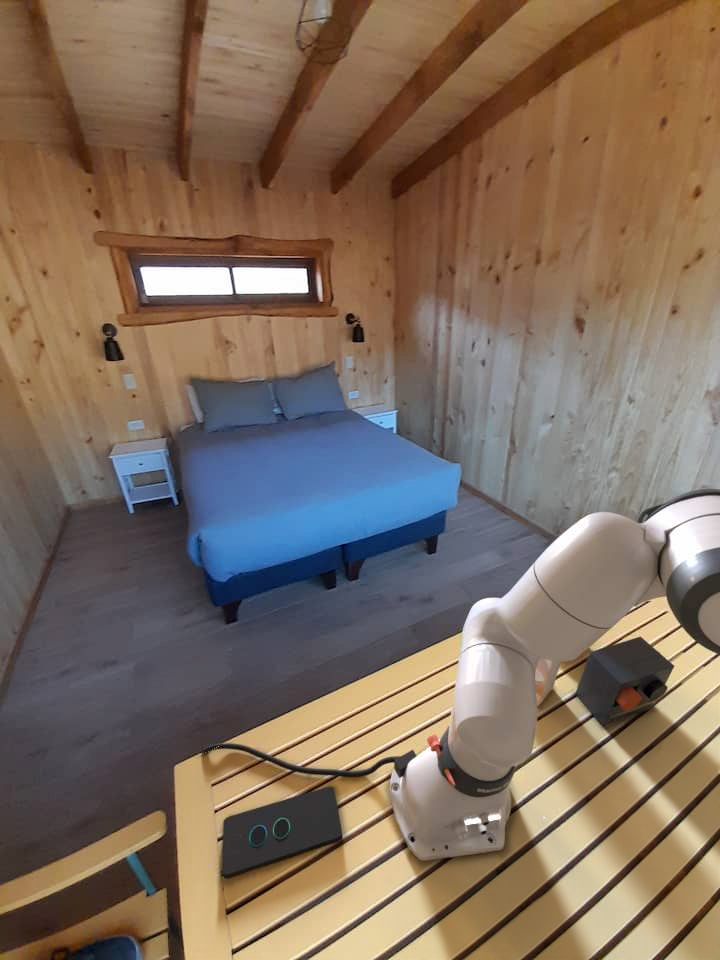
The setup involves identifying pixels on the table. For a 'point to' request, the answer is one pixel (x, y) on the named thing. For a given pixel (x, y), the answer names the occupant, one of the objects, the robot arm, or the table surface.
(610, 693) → the box
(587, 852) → the table surface
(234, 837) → the smart home device
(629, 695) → the knob
